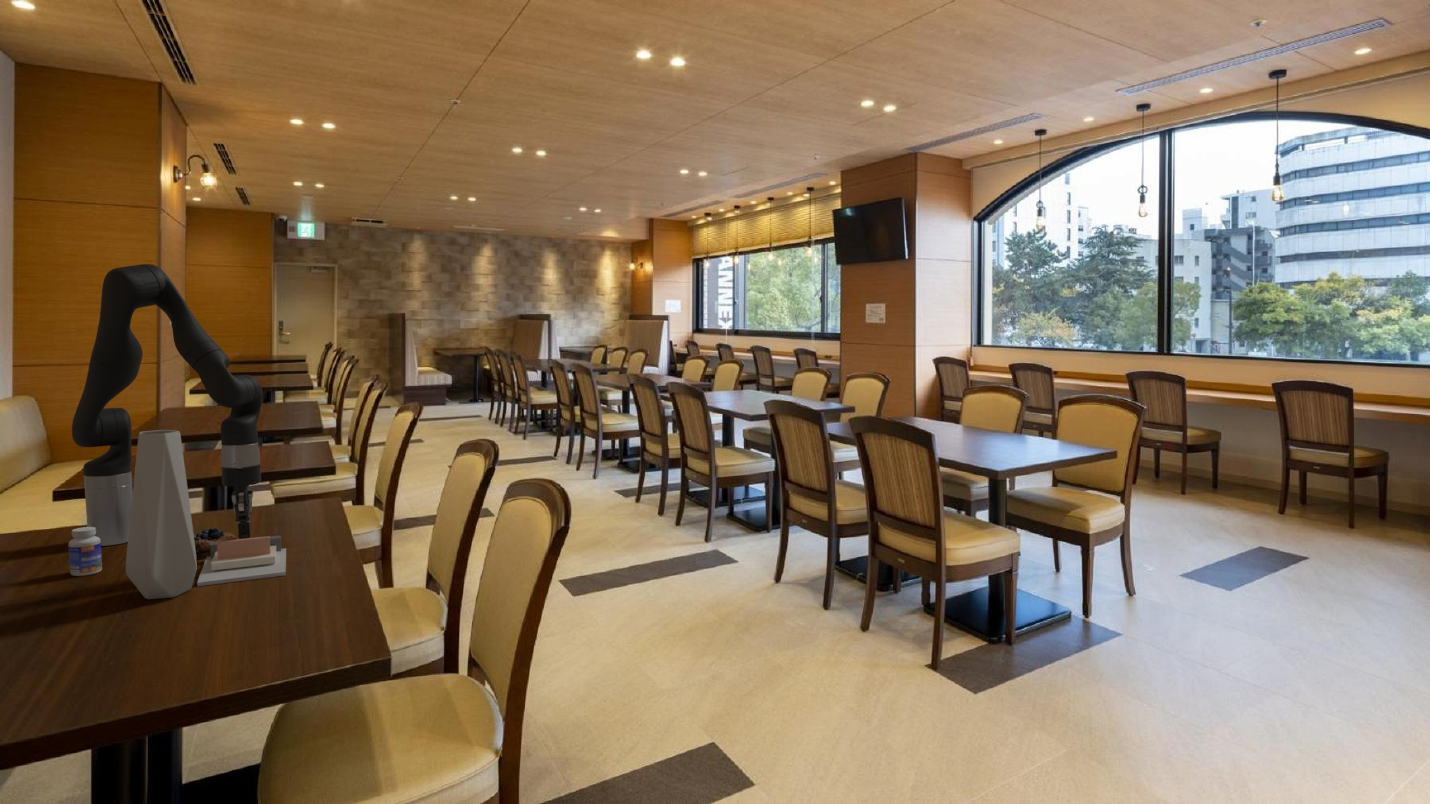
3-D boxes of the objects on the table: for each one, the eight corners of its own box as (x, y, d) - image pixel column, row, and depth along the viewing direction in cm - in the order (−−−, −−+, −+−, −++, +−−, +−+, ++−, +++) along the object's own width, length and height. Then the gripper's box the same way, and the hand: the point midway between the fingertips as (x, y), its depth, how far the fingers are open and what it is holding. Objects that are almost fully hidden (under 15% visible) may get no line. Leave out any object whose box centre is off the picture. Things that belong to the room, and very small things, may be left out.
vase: (218, 587, 158) (210, 429, 155) (162, 605, 147) (152, 437, 144) (176, 579, 162) (168, 426, 159) (118, 597, 151) (108, 433, 148)
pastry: (165, 556, 179) (164, 532, 179) (216, 544, 190) (215, 520, 189) (196, 563, 175) (194, 538, 174) (246, 549, 186) (245, 526, 185)
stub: (213, 564, 170) (212, 540, 169) (275, 557, 175) (274, 534, 175) (211, 570, 165) (210, 546, 165) (275, 563, 171) (274, 539, 171)
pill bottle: (84, 577, 163) (81, 533, 162) (63, 575, 164) (60, 531, 163) (108, 569, 168) (106, 526, 167) (88, 567, 169) (86, 524, 169)
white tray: (206, 559, 176) (206, 543, 176) (286, 551, 184) (285, 534, 184) (197, 586, 159) (196, 567, 158) (285, 575, 166) (284, 557, 166)
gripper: (223, 460, 177) (227, 533, 178) (218, 469, 165) (222, 547, 167) (261, 457, 180) (264, 529, 182) (258, 466, 169) (262, 543, 170)
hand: (244, 538), depth 174 cm, fingers closed
